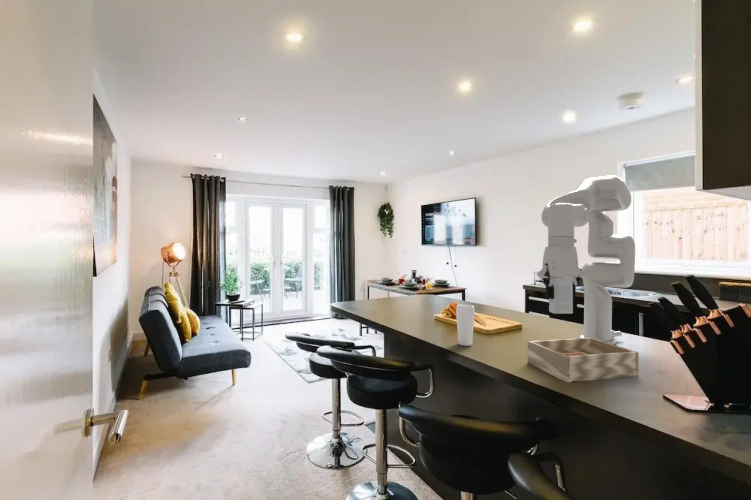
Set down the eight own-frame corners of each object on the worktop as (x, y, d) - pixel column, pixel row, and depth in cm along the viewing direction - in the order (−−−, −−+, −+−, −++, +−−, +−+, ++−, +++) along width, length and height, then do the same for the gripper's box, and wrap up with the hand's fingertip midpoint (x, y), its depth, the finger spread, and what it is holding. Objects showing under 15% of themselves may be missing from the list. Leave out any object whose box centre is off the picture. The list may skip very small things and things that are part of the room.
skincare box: (567, 311, 123) (568, 274, 122) (573, 314, 118) (573, 275, 118) (548, 311, 123) (548, 274, 123) (552, 313, 119) (552, 275, 119)
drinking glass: (462, 341, 150) (462, 303, 150) (477, 344, 145) (477, 305, 145) (452, 344, 145) (452, 305, 145) (468, 347, 141) (468, 307, 140)
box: (590, 358, 128) (591, 337, 128) (638, 376, 110) (638, 352, 110) (527, 362, 123) (527, 341, 123) (566, 382, 105) (566, 357, 105)
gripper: (576, 242, 126) (576, 295, 126) (529, 242, 123) (529, 297, 123) (593, 242, 118) (593, 299, 119) (543, 242, 115) (543, 300, 116)
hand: (560, 297), depth 121 cm, fingers closed on skincare box, 6 cm apart
